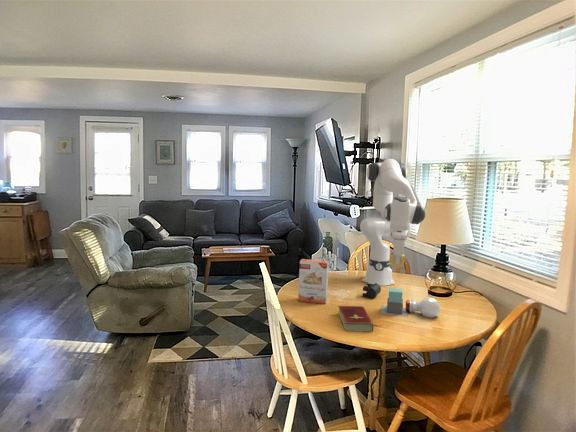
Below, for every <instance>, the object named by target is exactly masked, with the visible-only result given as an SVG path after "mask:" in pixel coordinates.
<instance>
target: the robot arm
mask: <svg viewBox="0 0 576 432" xmlns="http://www.w3.org/2000/svg"><path fill="white" fill-rule="evenodd" d="M407 176H408V169H407V165H406V164H404V163H401V162H398V161H397V160H396V159H394V158H387V159H384V160H383V161H382V162H372V163H369V164H368V165H367V168H366V177H367V179H368V181H370V182H372V183H373V182H374V185H373V186H374V187H373V193H372V195H373V198H372V206H373V208H374V209H375V210H376V211H378V212H379V213H380V214H381V217H375V216H374V217H366V218H363V219H362V221H360V223H359V224H360V225H359V228H360V229H359V230H360V232H361V234H362V235H364V237H366V239H367V241H368V242H369V245H370V257H369V259H368V261H369V263H368V266H367V267H366V268H365V269H366V270H365V277H363V279H362V280H361V281H362V282H364V283H366V284H368V283H369V284H375V283H377V284H379V285H380V287H383V286H385V287H386V286H390V285H395V284H396V282H395V280H394V278H393V270H392V268H391V266H390V263H391V248H390V247H391V246H390V245H389V244H388V243H386V242H385V241H383V239H382V237H390V238H391V239H392V247H393V249H392V251H393V253H394V255H395V256H396V264H399V263H400V256H402V255H403V254H404V250H405V249H404V248H405V243H406V241H407V239H408V238H409V237H410V229H411V225H419V224H421V223H422V222H424V221H425V218H426V211H425V206H424V205H423V204H422V203H421V201H420V200H419V196H418V195H417V192H416V190H415V189H414V188H415V187H414V186H413V184H412V183H411V182H410V181H409V180H407V179H406V178H407ZM394 194H397V195H399V196H395V197H394ZM410 224H411V225H410Z"/></svg>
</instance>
